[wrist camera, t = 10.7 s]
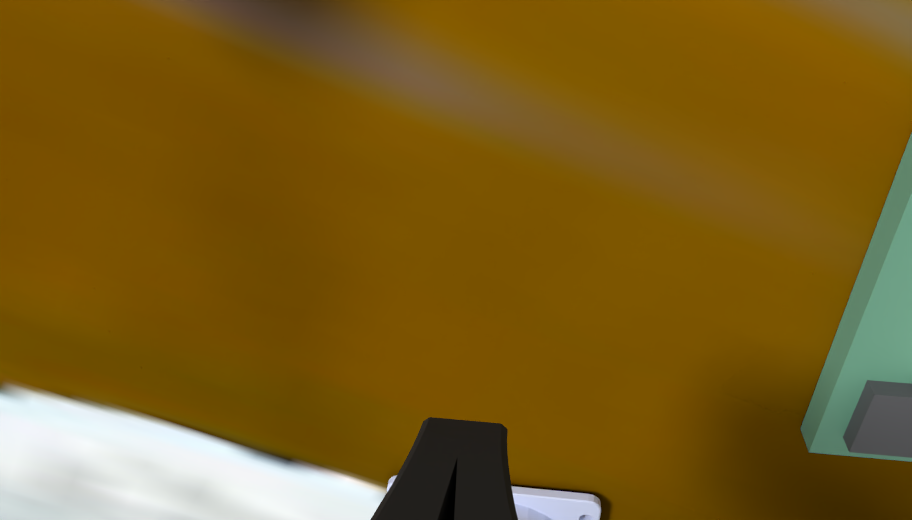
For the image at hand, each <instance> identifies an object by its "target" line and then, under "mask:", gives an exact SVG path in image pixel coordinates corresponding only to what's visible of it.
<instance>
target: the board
mask: <svg viewBox="0 0 912 520" xmlns="http://www.w3.org/2000/svg"><path fill="white" fill-rule="evenodd" d="M800 429H801V432H802V435H803V438H804V440H805V443H806V446H807V449H808V451H809V452H811V453H822V454H833V455H844V456H855V457H866V458H877V459H889V460H900V461H911V462H912V133H911V136H910V138H909V141H908V144H907V146H906V149H905V152H904V154H903V157H902V160H901V162H900V165H899V167H898V170H897V173H896V175H895V178H894V181H893V183H892V186H891V189H890V191H889V194H888V197H887V199H886V202H885V205H884V207H883V210H882V213H881V215H880V218H879V221H878V223H877V226H876V229H875V231H874V234H873V237H872V239H871V242H870V245H869V247H868V250H867V253H866V255H865V258H864V261H863V263H862V266H861V269H860V271H859V274H858V277H857V279H856V282H855V285H854V287H853V290H852V293H851V295H850V298H849V300H848V303H847V306H846V308H845V311H844V314H843V316H842V319H841V322H840V324H839V327H838V330H837V332H836V335H835V338H834V340H833V343H832V346H831V348H830V351H829V354H828V356H827V359H826V362H825V364H824V367H823V370H822V372H821V375H820V378H819V380H818V383H817V386H816V388H815V391H814V394H813V396H812V399H811V402H810V404H809V407H808V410H807V412H806V415H805V418H804V420H803V423H802V426H801V428H800Z"/></svg>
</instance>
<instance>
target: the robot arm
mask: <svg viewBox="0 0 912 520" xmlns="http://www.w3.org/2000/svg"><path fill="white" fill-rule="evenodd" d="M600 515H601V502H600V500H599V498H598V497H596V496H594V495H592V494H586V493H576V492H566V491H556V490H546V489H535V488H525V487H515V486H511V481H510V475H509V466H508V456H507V429H506V428H505V427H504V426H503V425H502V424H499V423H488V422H477V421H465V420H454V419H443V418H432V417H430V418H428V419H426V420H425V421H423V424H422V426H421V429H420V431H419V433H418V436H417V438H416V440H415V442H414V444H413V446H412V448H411V450H410V452H409V454H408V456H407V458H406V460H405V462H404V464H403V466H402V468H401V469H400V471H399V473H398V475H396V476H393V477H391V478H390V479H389V482H388V486H387V494H386V495H385V497H384V499H383V500H382V502H381V503H380V505H379V507H378V508H377V510H376V512H375V513H374V515H373V517H372V518H371V520H600Z"/></svg>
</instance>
